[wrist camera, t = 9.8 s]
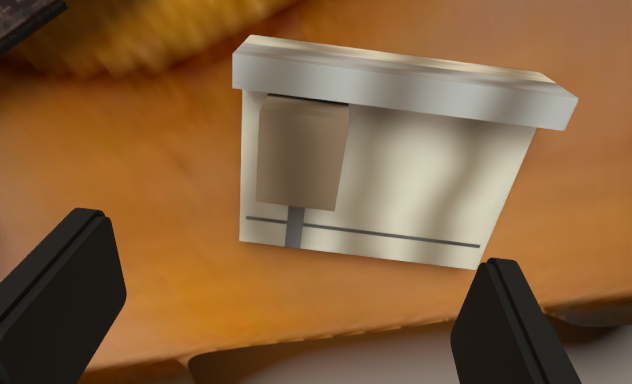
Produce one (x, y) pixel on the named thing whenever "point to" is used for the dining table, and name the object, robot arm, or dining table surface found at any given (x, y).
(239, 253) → the dining table surface
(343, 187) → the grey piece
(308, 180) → the block
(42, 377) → the robot arm
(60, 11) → the diary
